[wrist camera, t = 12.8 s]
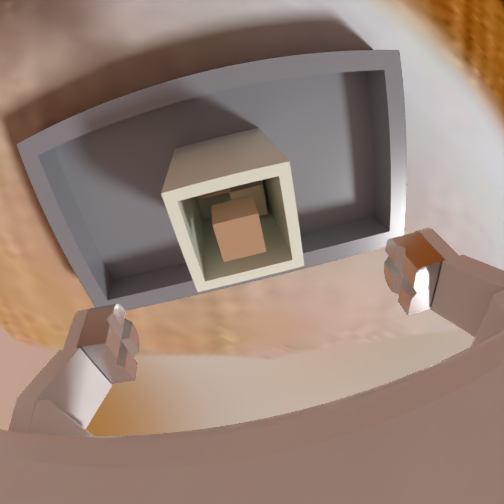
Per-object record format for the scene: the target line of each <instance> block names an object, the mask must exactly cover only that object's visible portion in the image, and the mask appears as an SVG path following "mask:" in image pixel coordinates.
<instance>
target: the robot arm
mask: <svg viewBox="0 0 504 504" xmlns="http://www.w3.org/2000/svg"><path fill="white" fill-rule="evenodd" d="M385 251H386V252H387V254H388V255H389V257H388V258H387V260H386V261H385V263H384V274H385V279H386V282H387V284H388V286H389V288H390V289H391V291H392V292H394V293H397V294H399V299H398V302H399V303H400V305H401V306H402V308H403V309H404V311H405V312H406V314H407V315H408V316H409V315H412V314H415V313H418V312H421V311H424V310H427V309H430V308H431V310H432V311H434V312H436V313H437V314H439V315H441V316H442V317H444V318H445V319H447V320H449V321H450V322H452V323H454V324H455V325H457V326H458V327H460V328H461V329H463V330H465V331H467V332H468V333H469V334H471V335H473V336H474V337H475V338H474V341H473V342H472V345H471V347H470V348H468V349H466V350H464V351H462V352H460V353H458V354H456V355H453V356H451V357H449V358H447V359H445V360H443V361H440V362H438V363H436V364H434V365H431V366H429V367H427V368H424V369H422V370H420V371H417V372H415V373H413V374H410V375H407V376H405V377H402V378H400V379H397V380H395V381H392V382H389V383H387V384H384V385H381V386H378V387H375V388H373V389H370V390H367V391H364V392H361V393H358V394H355V395H352V396H349V397H346V398H342V399H339V400H336V401H332V402H329V403H325V404H322V405H318V406H314V407H311V408H307V409H303V410H300V411H295V412H291V413H287V414H283V415H279V416H274V417H269V418H265V419H260V420H255V421H250V422H244V423H239V424H233V425H227V426H221V427H214V428H208V429H201V430H192V431H184V432H174V433H163V434H150V435H132V436H94V435H92V434H91V433H89V432H88V431H87V430H86V428H87V426H88V424H89V422H90V421H91V419H92V418H93V416H94V414H95V413H96V411H97V409H98V408H99V406H100V404H101V403H102V401H103V399H104V398H105V396H106V395H107V393H108V391H109V390H110V388H111V386H112V384H113V383H121V382H127V381H134V380H135V379H136V369H137V362H136V360H135V359H134V357H135V355H136V354H137V353H138V352H139V337H138V333H137V330H136V328H135V326H134V325H133V323H132V322H130V321H129V320H127V319H125V316H126V312H125V310H124V309H123V307H122V306H121V305H120V304H113V305H107V306H102V307H97V308H91V309H87V310H82V311H78V312H77V313H76V314H75V316H74V319H73V321H72V324H71V327H70V330H69V333H68V336H67V339H66V342H65V345H64V348H63V350H60V351H59V352H58V353H57V354H56V355H55V356H54V357H53V358H52V359H51V360H50V361H49V363H48V364H47V365H46V366H45V367H44V368H43V369H42V370H41V371H40V373H39V374H38V375H37V376H36V377H35V378H34V379H33V381H32V382H31V383H30V384H29V385H28V386H27V387H26V389H25V390H24V391H23V392H22V393H21V394H20V396H19V397H18V398H17V401H16V404H15V408H14V412H13V415H12V419H11V423H10V427H9V431H7V430H0V504H504V271H503V270H500V269H498V268H495V267H493V266H490V265H488V264H485V263H483V262H480V261H478V260H475V259H472V258H470V257H467V256H465V255H460V256H459V255H458V254H457V253H456V252H455V251H454V250H453V249H452V248H451V247H450V246H449V245H448V244H447V243H446V242H445V241H444V240H443V239H442V238H441V237H440V236H439V235H438V234H437V233H436V232H435V231H434V230H433V229H430V228H426V229H422V230H419V231H416V232H414V233H410V234H406V235H403V236H399V237H395V238H391V239H388V240H387V243H386V250H385Z"/></svg>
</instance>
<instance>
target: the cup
mask: <svg viewBox="0 0 504 504" xmlns="http://www.w3.org/2000/svg"><path fill="white" fill-rule="evenodd" d="M161 195H162V198H163V201H164V203H165V206H166V209H167V212H168V215H169V218H170V220H171V223H172V226H173V229H174V231H175V234H176V237H177V240H178V242H179V245H180V248H181V250H182V253H183V256H184V258H185V261H186V264H187V266H188V269H189V271H190V274H191V277H192V279H193V282H194V284H195V287H196V289H197V292H201V291H205V290H209V289H214V288H218V287H222V286H226V285H230V284H234V283H238V282H243V281H247V280H251V279H255V278H259V277H263V276H267V275H271V274H275V273H279V272H283V271H287V270H291V269H294V268H298V267H302V266H304V259H303V251H302V243H301V236H300V228H299V221H298V214H297V207H296V200H295V193H294V187H293V180H292V174H291V167H290V161H289V160H288V159H287V158H286V157H285V156H284V155H283V153H282V152H281V151H280V150H279V149H278V148H277V147H276V146H275V145H274V144H273V142H272V141H271V140H270V139H269V138H268V137H267V136H266V135H265V134H264V133H263V132H262V130H261V129H260V128H257V129H252V130H247V131H243V132H238V133H234V134H230V135H226V136H222V137H217V138H213V139H210V140H206V141H202V142H198V143H194V144H191V145H187V146H183V147H180V148H176V149H175V151H174V154H173V157H172V160H171V163H170V166H169V169H168V172H167V176H166V179H165V182H164V185H163V189H162V192H161Z"/></svg>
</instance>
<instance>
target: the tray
mask: <svg viewBox="0 0 504 504" xmlns="http://www.w3.org/2000/svg"><path fill="white" fill-rule="evenodd" d="M257 128H260V129H261V130H262V132H263V133H264V134H265V135H266V136H267V137H268V138H269V139H270V140H271V141H272V142H273V144H274V145H275V146H276V147H277V148H278V149H279V150H280V151H281V152H282V153H283V155H284V156H285V157H286V158H287V159H288V160H289V161H290V167H291V174H292V180H293V187H294V193H295V200H296V207H297V214H298V221H299V228H300V236H301V243H302V251H303V259H304V266H302V267H298V268H294V269H291V270H287V271H283V272H279V273H275V274H271V275H267V276H263V277H259V278H255V279H251V280H247V281H243V282H238V283H234V284H230V285H226V286H222V287H218V288H214V289H209V290H205V291H201V292H197V289H196V287H195V284H194V282H193V279H192V277H191V274H190V271H189V269H188V266H187V264H186V261H185V258H184V256H183V253H182V250H181V248H180V245H179V242H178V240H177V237H176V234H175V231H174V229H173V226H172V223H171V220H170V218H169V215H168V212H167V209H166V206H165V203H164V201H163V198H162V195H161V192H162V189H163V185H164V182H165V179H166V176H167V172H168V169H169V166H170V163H171V160H172V157H173V154H174V151H175V149H176V148H180V147H183V146H187V145H191V144H194V143H198V142H202V141H206V140H210V139H213V138H217V137H222V136H226V135H230V134H234V133H238V132H243V131H247V130H252V129H257ZM16 145H17V147H18V150H19V153H20V156H21V159H22V161H23V164H24V166H25V169H26V172H27V174H28V177H29V179H30V181H31V184H32V186H33V189H34V191H35V193H36V196H37V198H38V200H39V203H40V205H41V207H42V209H43V211H44V214H45V216H46V218H47V220H48V222H49V224H50V226H51V228H52V230H53V232H54V234H55V236H56V238H57V240H58V242H59V244H60V246H61V248H62V250H63V252H64V254H65V256H66V258H67V259H68V261H69V263H70V265H71V267H72V269H73V270H74V272H75V274H76V276H77V277H78V279H79V281H80V283H81V284H82V286H83V288H84V289H85V291H86V293H87V294H88V296H89V298H90V299H91V301H92V303H93V304H94V306H95V308H97V307H102V306H107V305H113V304H120V305H121V306H122V307H123V309H124V310H125V311H126V310H131V309H136V308H140V307H145V306H149V305H154V304H158V303H163V302H167V301H172V300H176V299H181V298H185V297H189V296H194V295H198V294H202V293H207V292H211V291H215V290H219V289H223V288H228V287H232V286H236V285H240V284H244V283H248V282H252V281H257V280H261V279H265V278H269V277H273V276H277V275H281V274H285V273H289V272H293V271H297V270H300V269H304V268H308V267H312V266H316V265H320V264H324V263H327V262H331V261H335V260H339V259H343V258H346V257H350V256H354V255H358V254H361V253H365V252H369V251H372V250H376V249H380V248H383V247H386V243H387V240H388V239H391V238H395V237H399V236H403V235H404V224H405V206H406V166H407V159H406V120H405V103H404V90H403V79H402V69H401V61H400V53H399V50H354V51H335V52H322V53H311V54H301V55H292V56H285V57H277V58H271V59H264V60H258V61H252V62H247V63H241V64H236V65H231V66H227V67H222V68H217V69H213V70H209V71H204V72H200V73H196V74H192V75H189V76H185V77H181V78H178V79H174V80H171V81H167V82H164V83H160V84H157V85H154V86H151V87H148V88H145V89H142V90H139V91H136V92H133V93H130V94H127V95H124V96H121V97H119V98H116V99H113V100H111V101H108V102H105V103H103V104H100V105H98V106H95V107H93V108H91V109H88V110H86V111H83V112H81V113H79V114H76V115H74V116H72V117H70V118H68V119H65V120H63V121H61V122H59V123H57V124H55V125H53V126H51V127H49V128H47V129H45V130H43V131H41V132H39V133H37V134H35V135H33V136H31V137H29V138H27V139H25V140H23V141H22V142H20V143H18V144H16Z"/></svg>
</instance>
